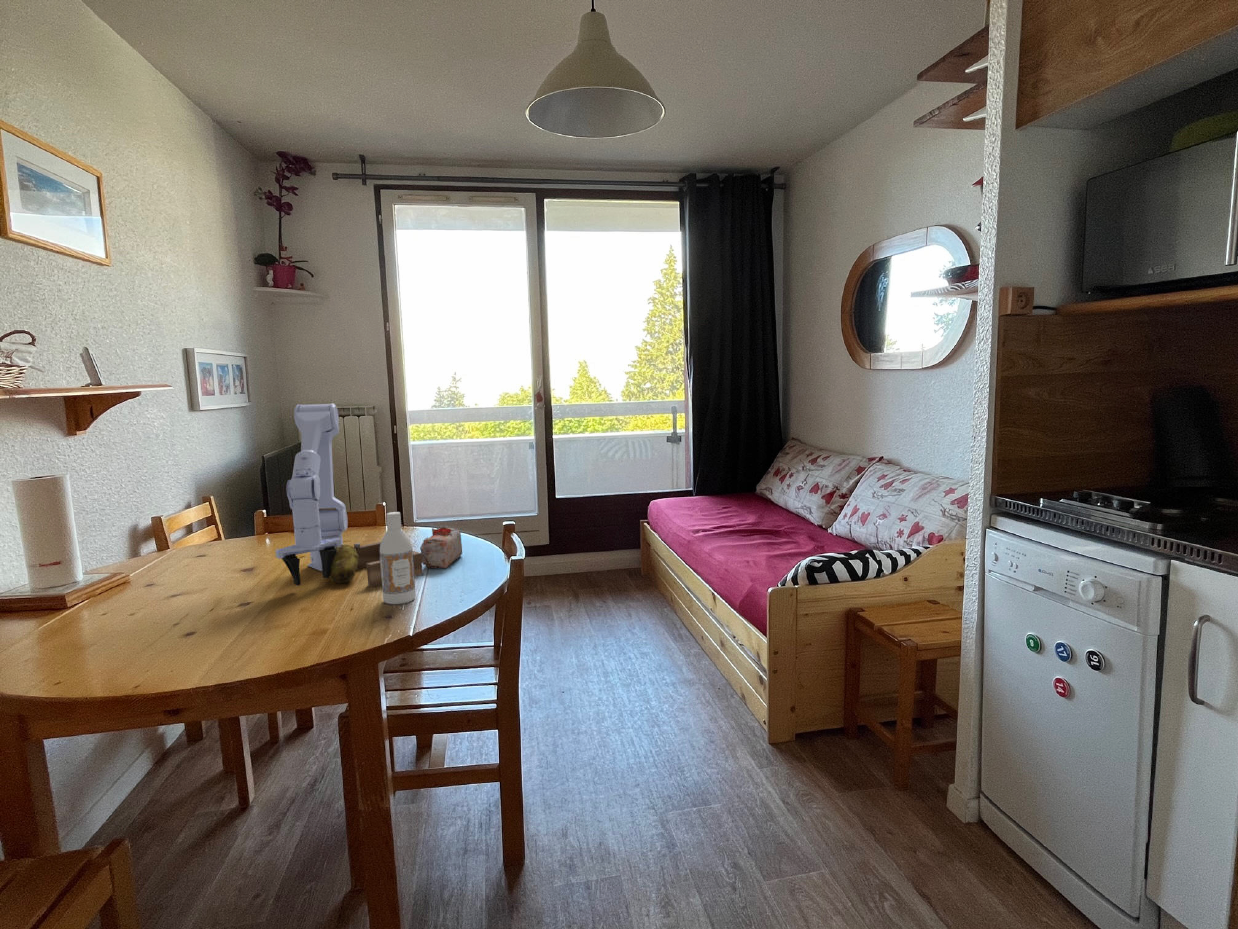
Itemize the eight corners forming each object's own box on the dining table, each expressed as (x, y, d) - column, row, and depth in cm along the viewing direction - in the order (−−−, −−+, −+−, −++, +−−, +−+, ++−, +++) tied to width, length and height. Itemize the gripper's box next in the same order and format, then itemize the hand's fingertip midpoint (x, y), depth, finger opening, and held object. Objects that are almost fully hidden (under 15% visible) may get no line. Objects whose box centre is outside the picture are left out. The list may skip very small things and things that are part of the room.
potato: (316, 587, 157) (314, 554, 156) (335, 572, 170) (333, 542, 169) (352, 585, 158) (350, 553, 157) (368, 571, 170) (366, 541, 170)
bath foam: (387, 607, 141) (380, 517, 139) (380, 599, 147) (373, 512, 144) (419, 600, 145) (413, 513, 142) (410, 593, 151) (404, 508, 148)
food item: (449, 570, 169) (446, 533, 168) (419, 570, 170) (416, 533, 169) (465, 556, 183) (463, 522, 181) (437, 556, 183) (435, 522, 182)
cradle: (335, 571, 170) (332, 547, 170) (383, 560, 180) (381, 537, 179) (372, 587, 156) (369, 560, 155) (422, 574, 166) (420, 549, 165)
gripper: (281, 534, 147) (286, 591, 149) (344, 523, 158) (348, 577, 159) (270, 530, 152) (275, 586, 154) (332, 519, 163) (336, 572, 164)
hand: (312, 581), depth 157 cm, fingers open, 6 cm apart
